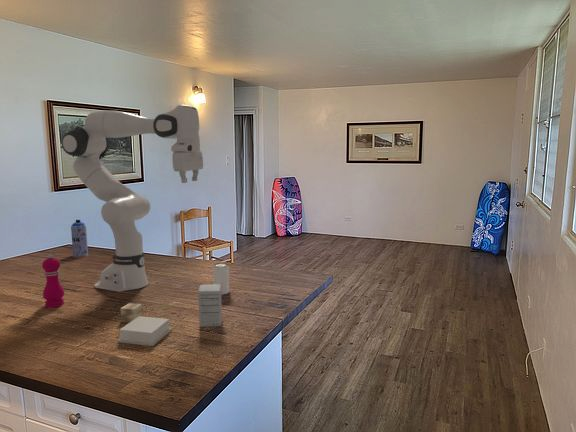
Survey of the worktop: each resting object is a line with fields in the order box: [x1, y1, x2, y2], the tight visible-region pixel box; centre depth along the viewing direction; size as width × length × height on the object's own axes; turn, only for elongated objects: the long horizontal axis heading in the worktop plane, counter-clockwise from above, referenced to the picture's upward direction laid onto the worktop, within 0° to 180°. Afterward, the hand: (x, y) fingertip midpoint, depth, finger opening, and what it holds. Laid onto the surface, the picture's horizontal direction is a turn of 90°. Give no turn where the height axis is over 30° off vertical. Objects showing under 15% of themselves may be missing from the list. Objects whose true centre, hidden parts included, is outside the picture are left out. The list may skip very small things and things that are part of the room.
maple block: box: [120, 302, 143, 323], centre depth 153 cm, size 5×5×5 cm
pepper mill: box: [41, 253, 65, 309], centre depth 166 cm, size 7×7×20 cm
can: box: [212, 262, 230, 296], centre depth 181 cm, size 6×6×12 cm
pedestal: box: [117, 315, 173, 347], centre depth 140 cm, size 12×12×4 cm
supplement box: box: [197, 283, 223, 328], centre depth 150 cm, size 7×7×13 cm
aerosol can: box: [70, 219, 89, 258], centre depth 242 cm, size 8×8×20 cm
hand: (189, 181), depth 175 cm, fingers open, 8 cm apart
